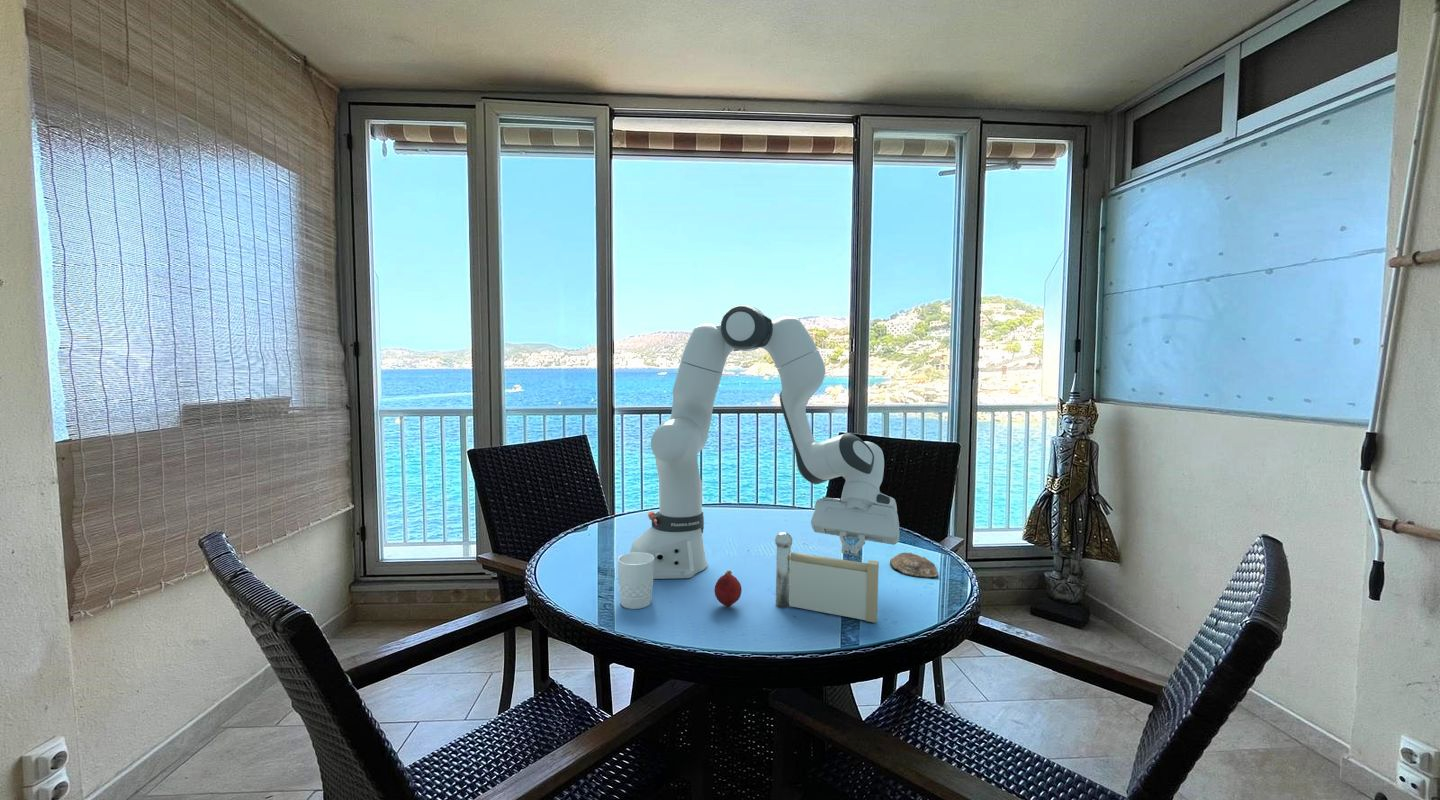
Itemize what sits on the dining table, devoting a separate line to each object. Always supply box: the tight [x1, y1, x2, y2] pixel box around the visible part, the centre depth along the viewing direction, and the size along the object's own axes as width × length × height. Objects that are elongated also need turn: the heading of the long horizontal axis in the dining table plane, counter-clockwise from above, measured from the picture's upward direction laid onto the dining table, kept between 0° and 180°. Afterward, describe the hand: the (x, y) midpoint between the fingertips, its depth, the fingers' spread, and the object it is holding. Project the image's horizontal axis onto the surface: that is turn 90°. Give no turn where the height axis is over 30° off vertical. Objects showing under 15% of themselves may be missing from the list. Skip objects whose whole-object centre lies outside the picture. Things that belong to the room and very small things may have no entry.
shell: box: [889, 552, 939, 579], centre depth 143 cm, size 12×13×4 cm
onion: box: [713, 570, 742, 608], centre depth 118 cm, size 6×6×8 cm
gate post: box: [774, 531, 793, 609], centre depth 119 cm, size 4×4×16 cm
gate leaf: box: [789, 551, 880, 624], centre depth 115 cm, size 18×2×12 cm, turn 67°
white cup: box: [617, 552, 654, 610], centre depth 120 cm, size 8×8×10 cm
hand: (849, 553), depth 124 cm, fingers closed
